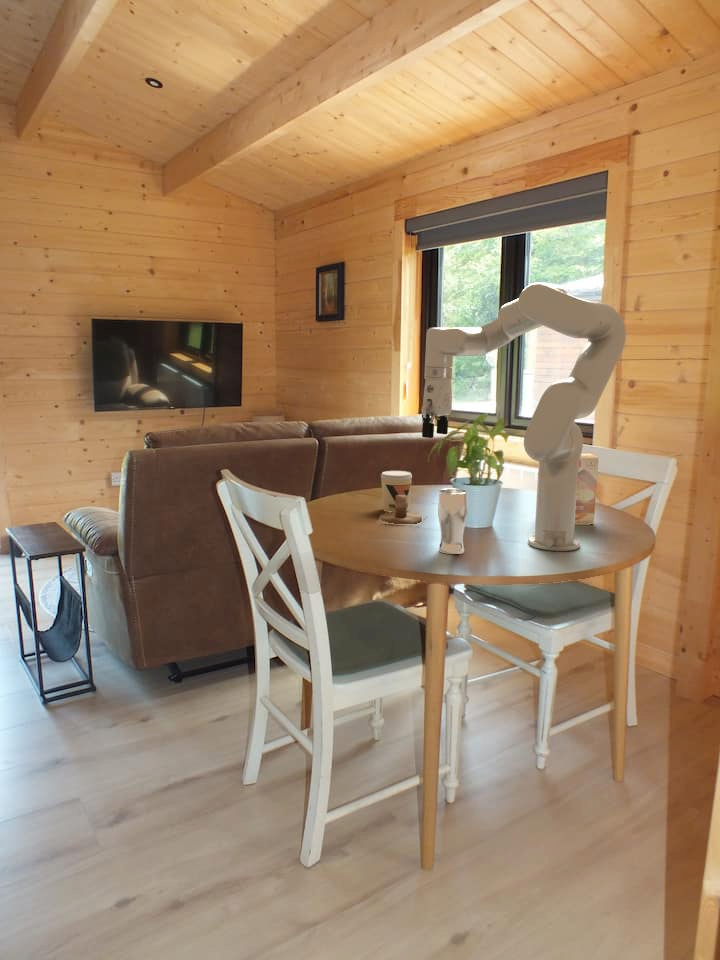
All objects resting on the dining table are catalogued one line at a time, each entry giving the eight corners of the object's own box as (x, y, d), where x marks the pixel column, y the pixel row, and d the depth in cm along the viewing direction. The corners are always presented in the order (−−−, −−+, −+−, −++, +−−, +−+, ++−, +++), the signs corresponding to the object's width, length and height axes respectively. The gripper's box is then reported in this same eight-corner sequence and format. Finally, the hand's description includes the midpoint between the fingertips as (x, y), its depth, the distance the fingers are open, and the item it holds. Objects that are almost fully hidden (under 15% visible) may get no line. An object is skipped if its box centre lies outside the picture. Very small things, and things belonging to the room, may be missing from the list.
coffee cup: (385, 516, 209) (385, 476, 206) (376, 509, 217) (377, 471, 215) (415, 514, 211) (416, 475, 209) (406, 508, 220) (406, 470, 217)
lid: (417, 526, 194) (418, 501, 193) (375, 523, 197) (375, 499, 196) (425, 516, 206) (425, 493, 204) (384, 514, 209) (385, 490, 208)
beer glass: (470, 554, 170) (472, 493, 167) (443, 556, 168) (445, 494, 165) (458, 546, 177) (460, 487, 174) (432, 548, 175) (434, 489, 172)
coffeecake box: (541, 525, 199) (545, 456, 195) (535, 519, 206) (538, 452, 202) (594, 525, 199) (599, 456, 196) (586, 519, 206) (590, 453, 203)
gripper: (438, 375, 185) (434, 440, 189) (462, 373, 200) (459, 433, 203) (412, 374, 189) (409, 437, 192) (438, 372, 203) (435, 431, 207)
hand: (434, 435), depth 198 cm, fingers open, 9 cm apart
